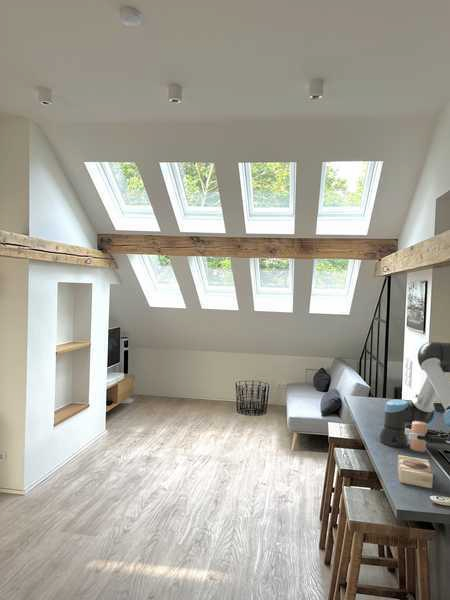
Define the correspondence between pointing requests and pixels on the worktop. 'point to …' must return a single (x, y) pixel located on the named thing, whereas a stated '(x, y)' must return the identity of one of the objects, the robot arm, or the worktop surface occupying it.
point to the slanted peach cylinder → (419, 429)
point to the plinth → (414, 471)
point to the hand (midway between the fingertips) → (407, 433)
